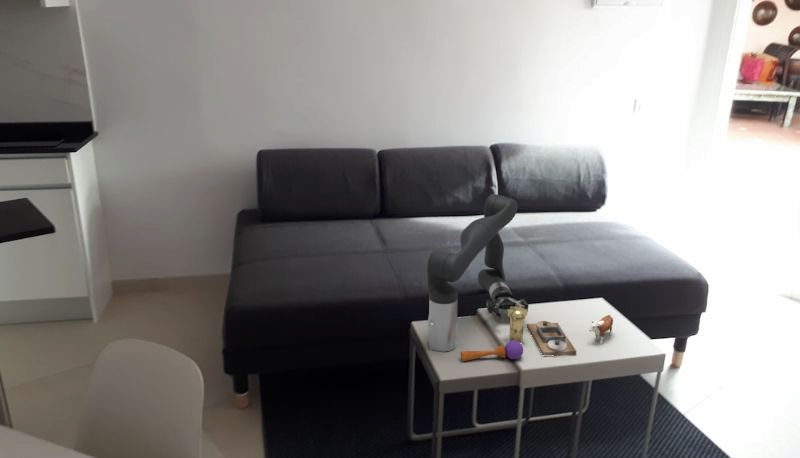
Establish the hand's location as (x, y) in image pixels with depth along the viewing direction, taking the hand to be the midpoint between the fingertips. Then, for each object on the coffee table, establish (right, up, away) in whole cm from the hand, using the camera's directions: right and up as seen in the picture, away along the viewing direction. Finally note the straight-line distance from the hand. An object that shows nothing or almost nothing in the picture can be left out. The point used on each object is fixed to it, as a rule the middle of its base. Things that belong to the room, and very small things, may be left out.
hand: (511, 314), depth 216 cm
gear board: (+13, -8, -3) cm, 15 cm away
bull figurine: (+30, -8, -2) cm, 31 cm away
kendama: (-9, -13, -14) cm, 21 cm away
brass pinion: (+1, -9, -4) cm, 10 cm away
